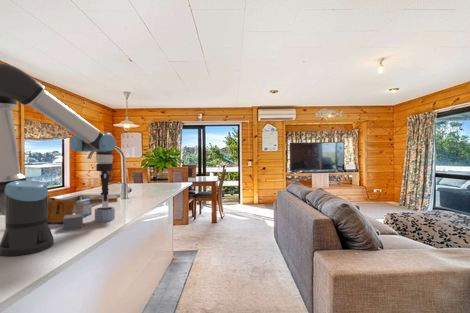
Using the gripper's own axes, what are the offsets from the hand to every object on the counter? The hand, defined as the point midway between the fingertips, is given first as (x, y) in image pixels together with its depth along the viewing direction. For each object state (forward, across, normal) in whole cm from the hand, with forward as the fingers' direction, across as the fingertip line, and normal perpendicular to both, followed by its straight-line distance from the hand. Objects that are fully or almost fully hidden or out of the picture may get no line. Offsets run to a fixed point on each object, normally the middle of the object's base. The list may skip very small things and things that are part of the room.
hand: (105, 205), depth 132 cm
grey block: (+7, -9, +13) cm, 18 cm away
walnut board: (-2, 0, +1) cm, 2 cm away
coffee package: (+1, +12, +32) cm, 34 cm away
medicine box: (+7, +14, +10) cm, 19 cm away
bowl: (+7, 0, 0) cm, 7 cm away
